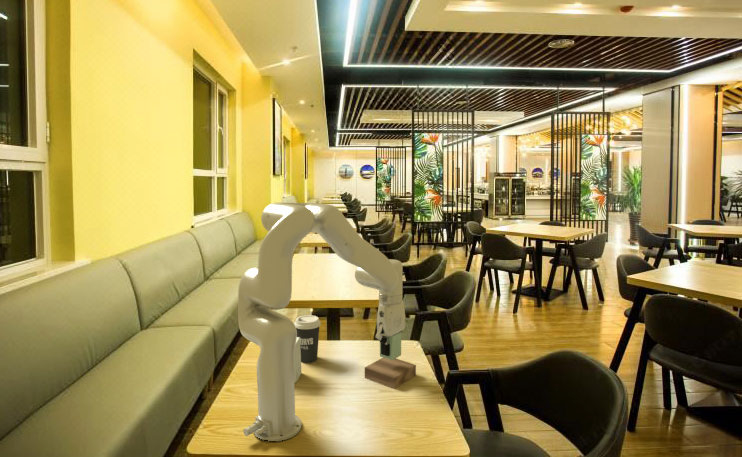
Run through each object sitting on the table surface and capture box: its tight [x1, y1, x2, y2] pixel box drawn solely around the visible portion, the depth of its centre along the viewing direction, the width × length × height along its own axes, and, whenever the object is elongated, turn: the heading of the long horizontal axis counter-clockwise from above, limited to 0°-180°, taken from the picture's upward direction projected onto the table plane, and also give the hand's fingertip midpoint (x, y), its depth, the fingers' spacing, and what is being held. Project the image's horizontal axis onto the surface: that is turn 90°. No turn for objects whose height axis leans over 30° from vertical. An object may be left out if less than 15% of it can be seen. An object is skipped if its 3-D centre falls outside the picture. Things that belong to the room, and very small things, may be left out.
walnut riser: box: [364, 357, 417, 390], centre depth 157 cm, size 12×12×4 cm
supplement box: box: [294, 337, 302, 384], centre depth 155 cm, size 7×7×13 cm
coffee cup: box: [293, 314, 322, 364], centre depth 169 cm, size 10×10×15 cm
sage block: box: [379, 332, 402, 360], centre depth 155 cm, size 5×5×8 cm
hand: (390, 351), depth 156 cm, fingers closed on sage block, 5 cm apart
